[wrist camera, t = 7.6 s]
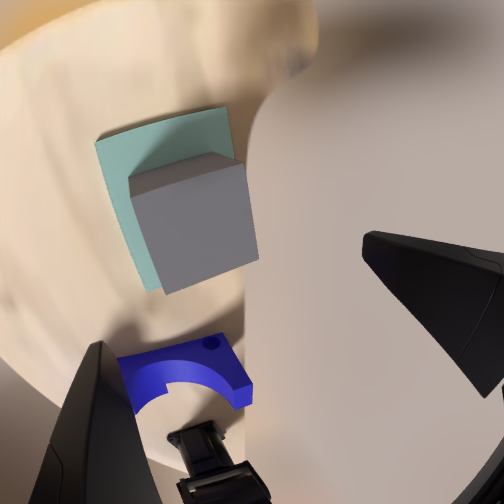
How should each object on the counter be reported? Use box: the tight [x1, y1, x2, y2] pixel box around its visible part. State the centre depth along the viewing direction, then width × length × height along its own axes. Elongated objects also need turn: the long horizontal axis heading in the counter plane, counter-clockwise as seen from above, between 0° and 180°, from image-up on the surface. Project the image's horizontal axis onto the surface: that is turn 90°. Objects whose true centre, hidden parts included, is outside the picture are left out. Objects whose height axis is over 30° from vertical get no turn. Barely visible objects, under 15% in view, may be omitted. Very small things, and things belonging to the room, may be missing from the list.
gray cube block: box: [128, 152, 259, 295], centre depth 14 cm, size 5×5×4 cm
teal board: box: [94, 107, 235, 292], centre depth 16 cm, size 10×8×1 cm
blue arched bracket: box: [117, 332, 253, 415], centre depth 19 cm, size 12×4×6 cm, turn 88°
